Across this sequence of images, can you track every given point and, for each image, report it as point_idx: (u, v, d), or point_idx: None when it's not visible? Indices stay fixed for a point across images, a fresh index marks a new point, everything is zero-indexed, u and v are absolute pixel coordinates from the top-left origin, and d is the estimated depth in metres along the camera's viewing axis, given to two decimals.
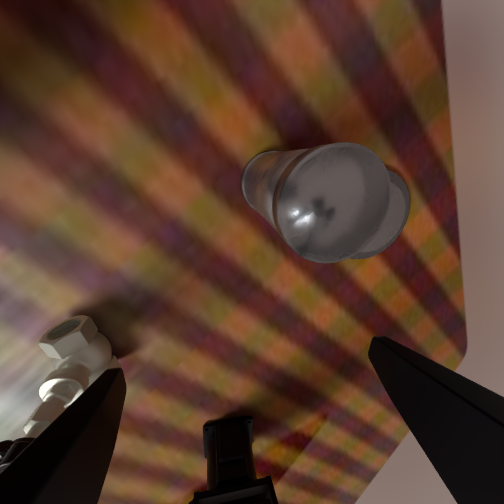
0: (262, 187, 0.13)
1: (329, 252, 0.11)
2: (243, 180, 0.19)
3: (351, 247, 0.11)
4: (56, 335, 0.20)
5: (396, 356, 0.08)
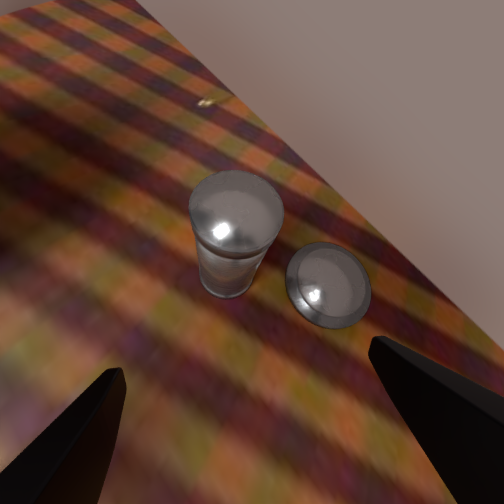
0: None
1: (245, 241, 0.12)
2: (199, 271, 0.22)
3: (264, 234, 0.12)
4: None
5: (396, 356, 0.08)
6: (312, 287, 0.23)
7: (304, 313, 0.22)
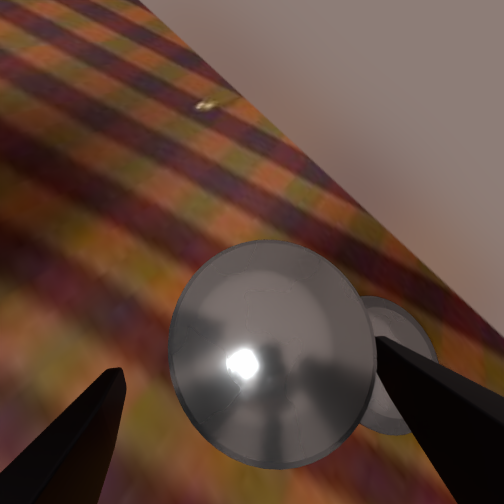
0: None
1: (302, 432, 0.05)
2: None
3: (343, 406, 0.05)
4: None
5: (396, 356, 0.08)
6: None
7: None
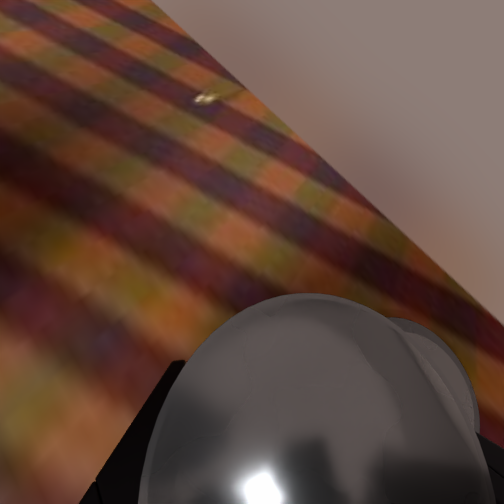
0: None
1: None
2: None
3: None
4: None
5: None
6: None
7: None
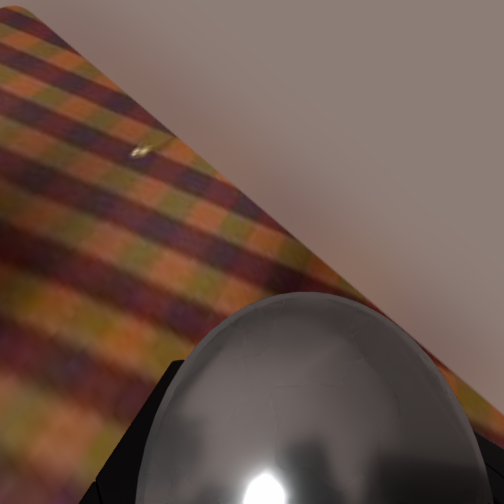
0: None
1: None
2: None
3: None
4: None
5: None
6: None
7: None
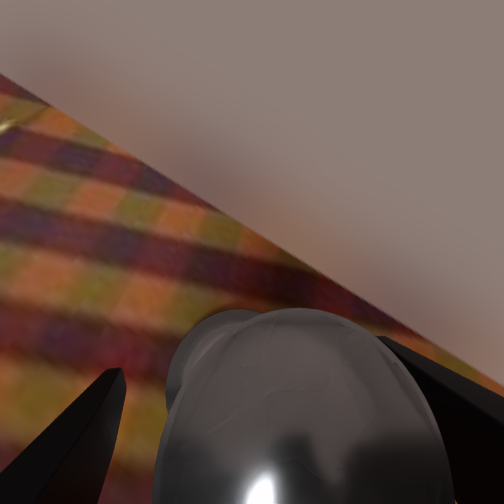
0: None
1: None
2: None
3: None
4: None
5: (396, 356, 0.08)
6: None
7: None
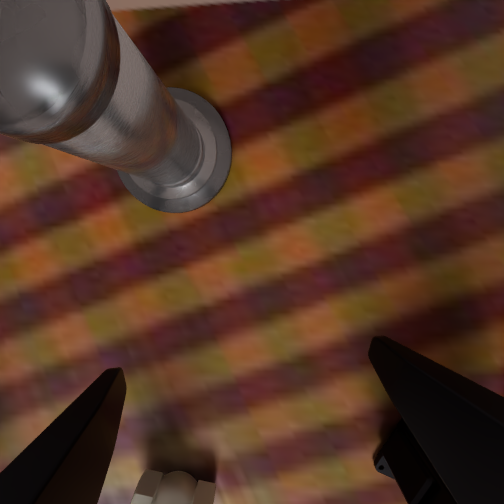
0: None
1: (52, 79, 0.06)
2: None
3: (71, 36, 0.06)
4: None
5: (396, 356, 0.08)
6: None
7: (182, 210, 0.18)
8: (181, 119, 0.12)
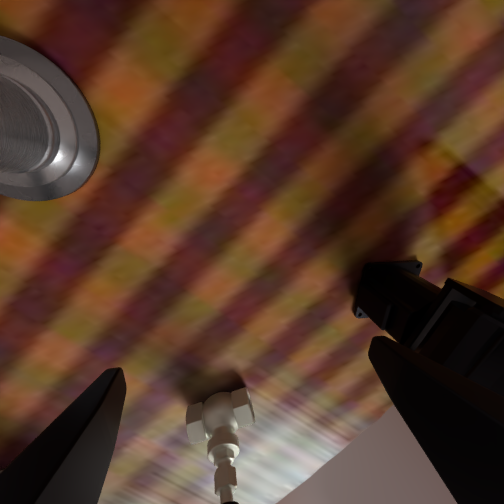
0: None
1: None
2: None
3: None
4: None
5: (396, 356, 0.08)
6: None
7: (73, 187, 0.16)
8: None
